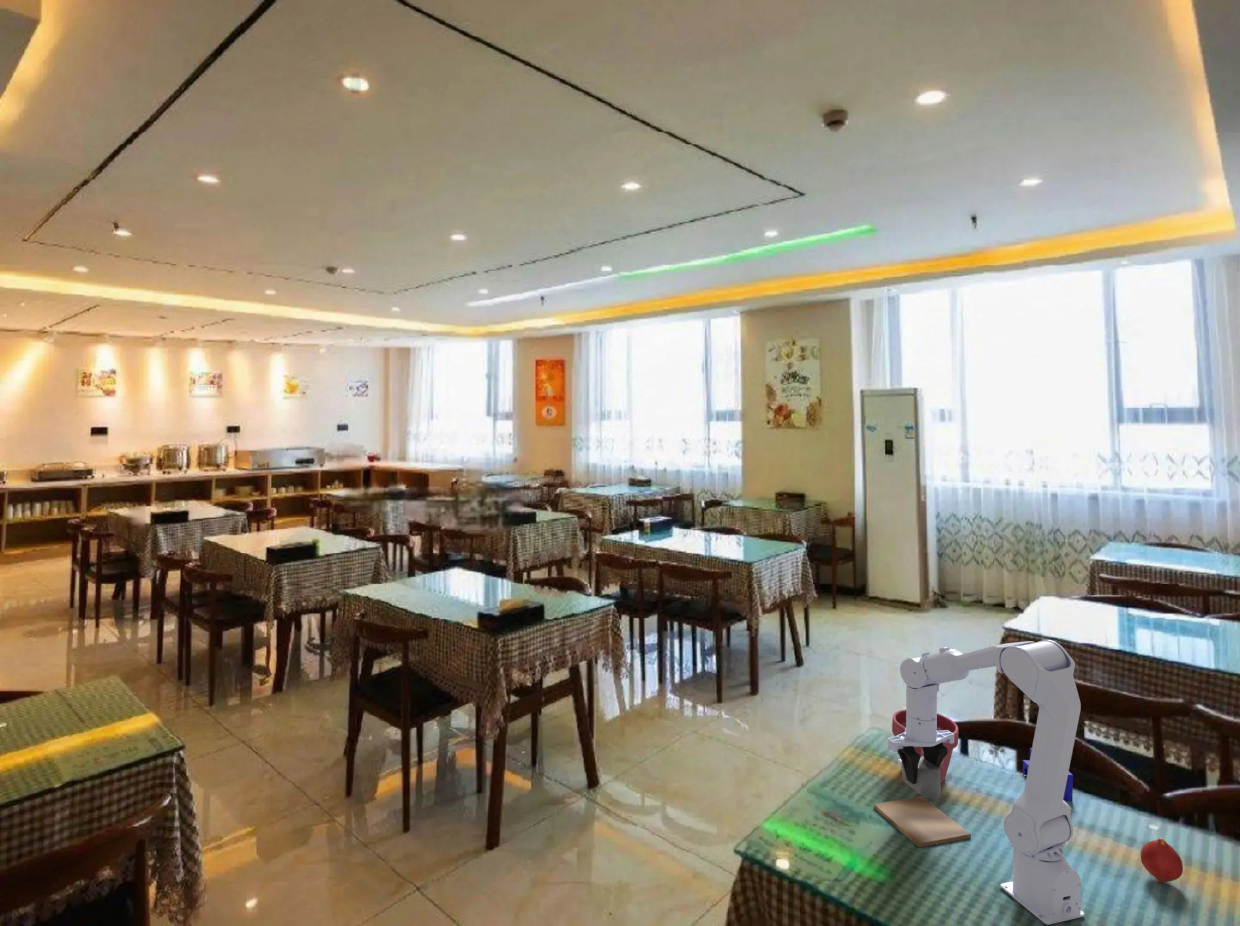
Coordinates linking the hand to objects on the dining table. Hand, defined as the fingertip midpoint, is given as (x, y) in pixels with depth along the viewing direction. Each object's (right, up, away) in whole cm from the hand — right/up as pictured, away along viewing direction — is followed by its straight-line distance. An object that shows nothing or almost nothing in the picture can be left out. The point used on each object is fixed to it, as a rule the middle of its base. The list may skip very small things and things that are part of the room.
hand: (920, 779), depth 133 cm
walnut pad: (0, -9, 0) cm, 9 cm away
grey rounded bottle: (0, -1, 0) cm, 1 cm away
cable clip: (+35, -9, +14) cm, 39 cm away
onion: (+34, -10, -18) cm, 40 cm away
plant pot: (+10, -8, +19) cm, 23 cm away
